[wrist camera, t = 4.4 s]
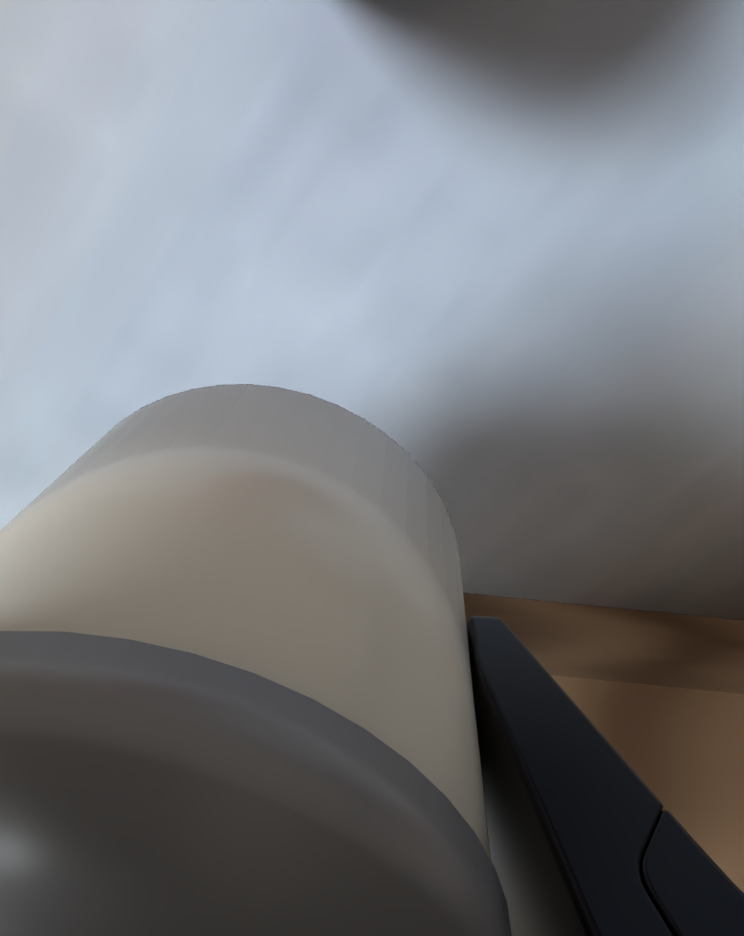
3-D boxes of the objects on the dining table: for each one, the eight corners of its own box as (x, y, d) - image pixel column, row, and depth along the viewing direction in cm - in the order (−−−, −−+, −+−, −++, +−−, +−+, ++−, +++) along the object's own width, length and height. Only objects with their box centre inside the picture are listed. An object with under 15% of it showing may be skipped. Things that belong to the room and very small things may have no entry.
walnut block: (811, 620, 23) (885, 708, 20) (709, 852, 28) (752, 955, 25) (459, 586, 23) (467, 666, 20) (422, 822, 29) (423, 920, 25)
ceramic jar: (487, 388, 9) (600, 774, 3) (449, 740, 11) (479, 1273, 6) (19, 365, 9) (-575, 691, 4) (88, 715, 12) (-196, 1205, 6)
